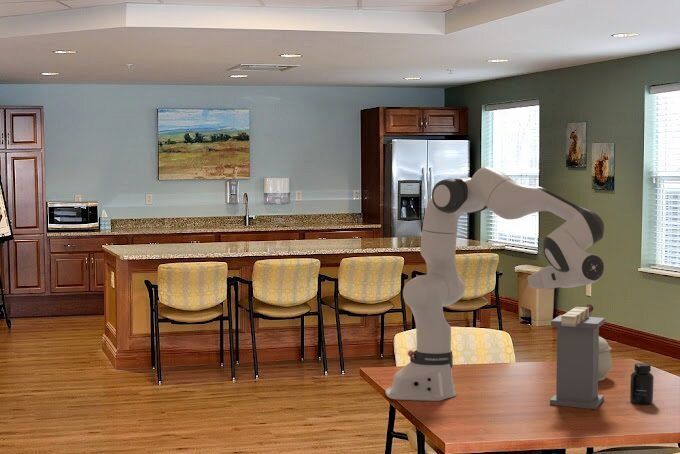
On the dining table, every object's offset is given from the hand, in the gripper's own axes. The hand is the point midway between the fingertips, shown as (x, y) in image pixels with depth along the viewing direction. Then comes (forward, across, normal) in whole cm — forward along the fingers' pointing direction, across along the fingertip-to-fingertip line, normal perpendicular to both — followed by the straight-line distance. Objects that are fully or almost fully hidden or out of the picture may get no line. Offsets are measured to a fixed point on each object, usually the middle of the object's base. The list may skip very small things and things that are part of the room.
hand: (551, 275), depth 300 cm
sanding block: (+1, -4, +15) cm, 16 cm away
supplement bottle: (+6, -20, +45) cm, 50 cm away
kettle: (+44, -20, +38) cm, 61 cm away
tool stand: (+10, -1, +40) cm, 41 cm away
